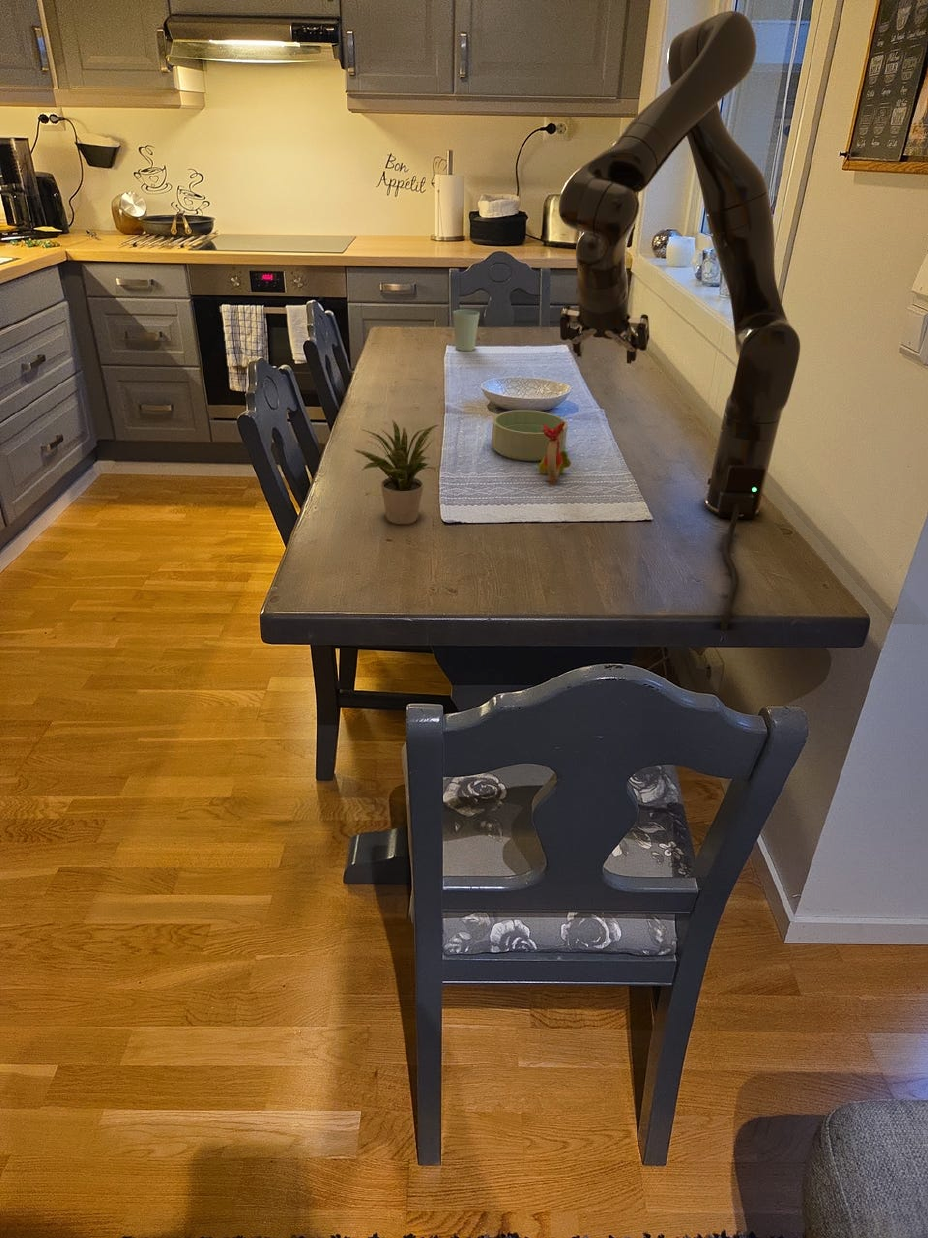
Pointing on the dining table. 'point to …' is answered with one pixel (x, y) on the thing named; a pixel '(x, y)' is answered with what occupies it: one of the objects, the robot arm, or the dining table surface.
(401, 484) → the house plant
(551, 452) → the bird rattle
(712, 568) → the dining table surface
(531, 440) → the bowl
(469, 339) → the cup
